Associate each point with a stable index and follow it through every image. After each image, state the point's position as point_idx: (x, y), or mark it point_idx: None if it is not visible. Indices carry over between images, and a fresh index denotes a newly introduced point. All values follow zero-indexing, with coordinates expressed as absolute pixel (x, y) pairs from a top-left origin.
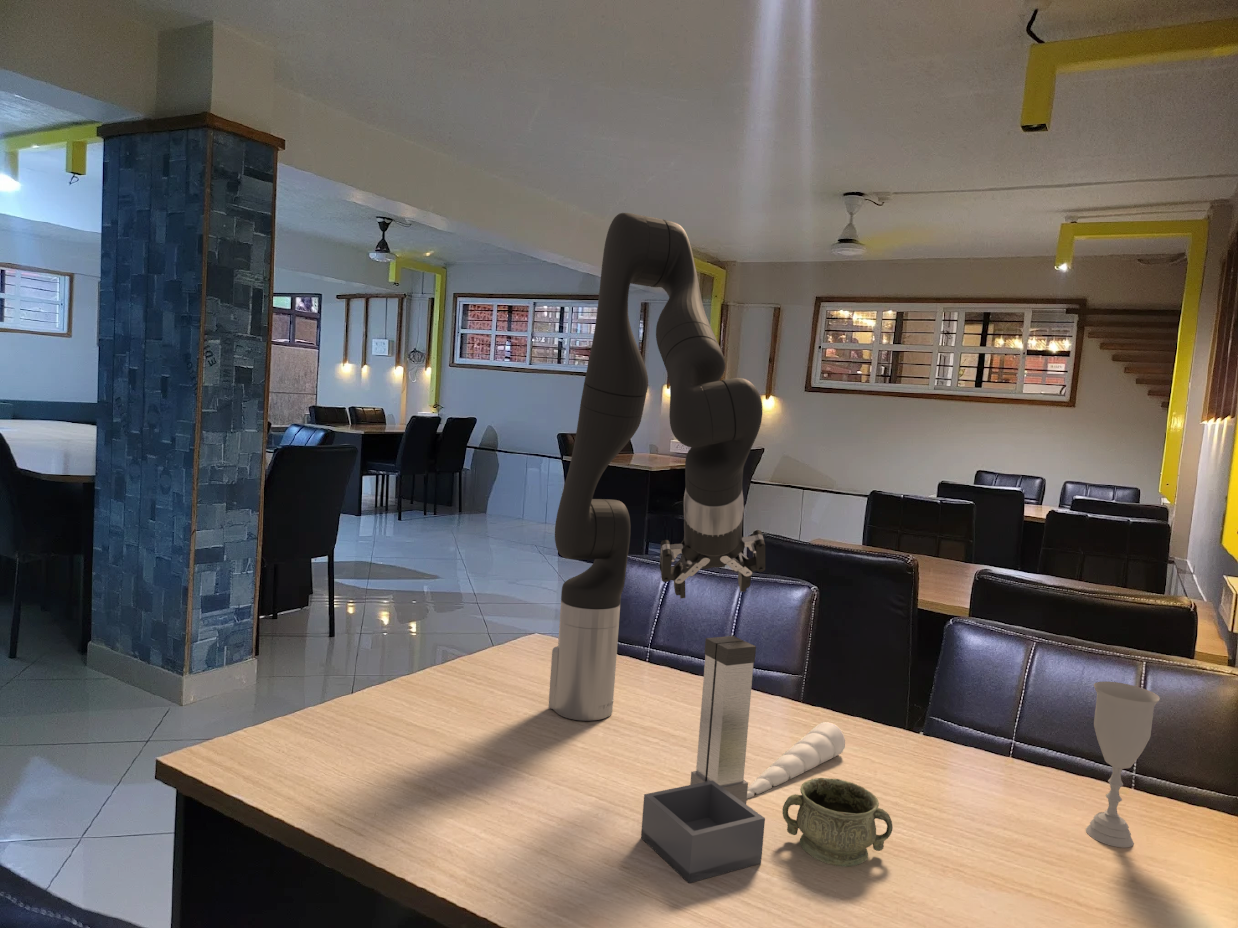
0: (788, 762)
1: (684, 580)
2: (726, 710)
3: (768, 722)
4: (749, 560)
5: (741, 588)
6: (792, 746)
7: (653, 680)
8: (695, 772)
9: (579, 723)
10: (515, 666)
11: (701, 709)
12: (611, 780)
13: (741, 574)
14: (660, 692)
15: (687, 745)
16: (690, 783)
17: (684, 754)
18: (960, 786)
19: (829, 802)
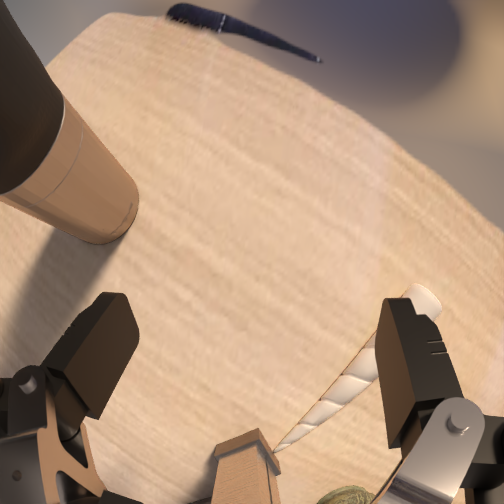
0: (352, 396)
1: (91, 412)
2: None
3: (360, 211)
4: (470, 467)
5: (379, 372)
6: (371, 350)
7: (215, 86)
8: (219, 457)
9: (95, 250)
10: (60, 90)
11: (212, 499)
12: (129, 413)
13: (393, 442)
14: (218, 122)
15: (231, 308)
16: (215, 450)
17: (223, 339)
18: (500, 358)
19: (358, 496)
